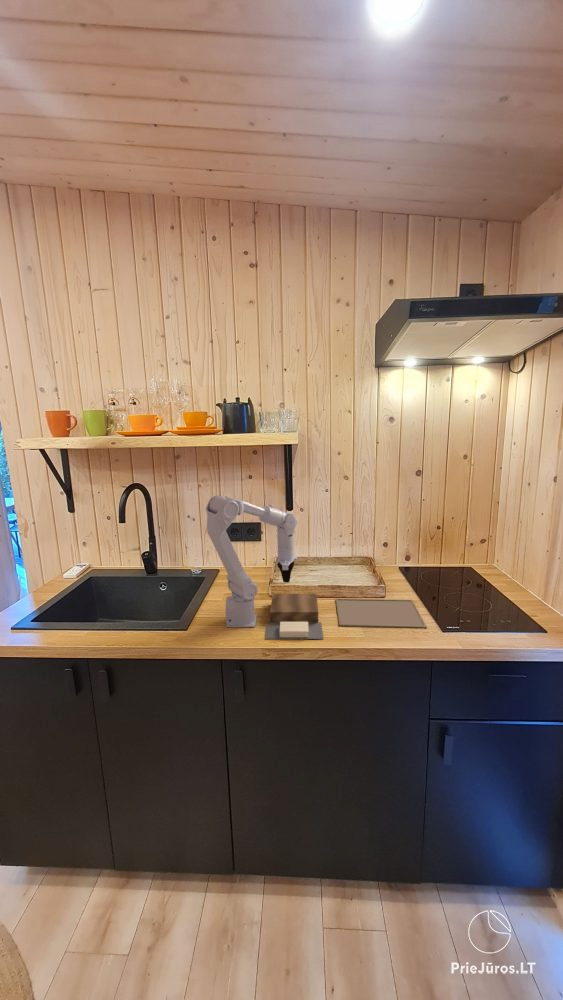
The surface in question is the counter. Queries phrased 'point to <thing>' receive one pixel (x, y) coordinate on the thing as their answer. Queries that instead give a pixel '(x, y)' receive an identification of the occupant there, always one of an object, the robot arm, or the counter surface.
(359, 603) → the taupe placemat
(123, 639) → the counter surface
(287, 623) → the beige rectangular block
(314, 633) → the mat
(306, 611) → the brown wooden flat block
